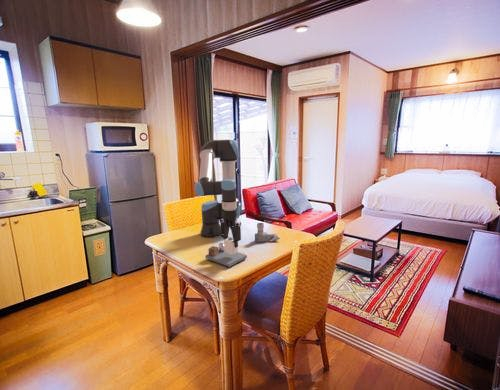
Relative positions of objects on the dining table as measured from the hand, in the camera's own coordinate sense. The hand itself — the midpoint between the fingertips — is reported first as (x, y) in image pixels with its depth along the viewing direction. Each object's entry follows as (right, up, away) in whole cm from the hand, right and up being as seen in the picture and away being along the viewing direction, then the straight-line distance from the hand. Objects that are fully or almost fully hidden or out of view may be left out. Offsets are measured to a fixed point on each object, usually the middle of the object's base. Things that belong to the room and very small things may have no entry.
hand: (231, 251), depth 147 cm
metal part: (-6, -2, +9) cm, 11 cm away
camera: (+21, 0, +31) cm, 38 cm away
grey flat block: (-3, -5, +4) cm, 7 cm away
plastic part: (0, 0, 0) cm, 0 cm away
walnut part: (-10, -3, +4) cm, 11 cm away
